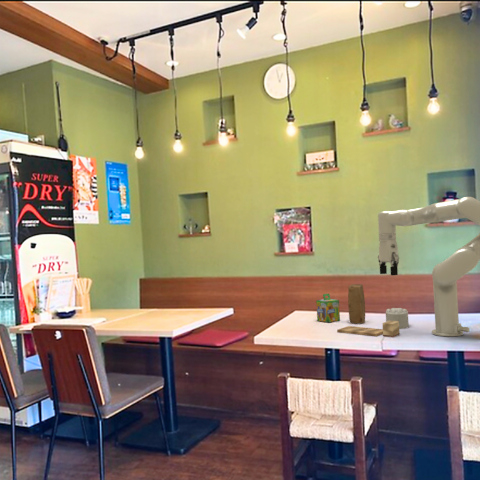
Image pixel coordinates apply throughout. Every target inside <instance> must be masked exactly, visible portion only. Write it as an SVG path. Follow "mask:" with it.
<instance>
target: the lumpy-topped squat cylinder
mask: <svg viewBox="0 0 480 480" xmlns="http://www.w3.org/2000/svg"><path fill="white" fill-rule="evenodd" d="M387 321H399V330H401V329H408V328H409V311H408V310H407V309H406V308H401V307H397V308H396V307H392V308H386V311H385V322H387ZM407 327H408V328H407Z"/></svg>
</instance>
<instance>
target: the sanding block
mask: <svg viewBox="0 0 480 480" xmlns="http://www.w3.org/2000/svg"><path fill="white" fill-rule="evenodd" d="M382 329H383V334H382V337H387V338H395V337H397V335H398V336H400V335H401V333H400V332H401V331H400V329H399V321H387V322H386V321H385V322H382ZM399 334H400V335H399Z"/></svg>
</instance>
